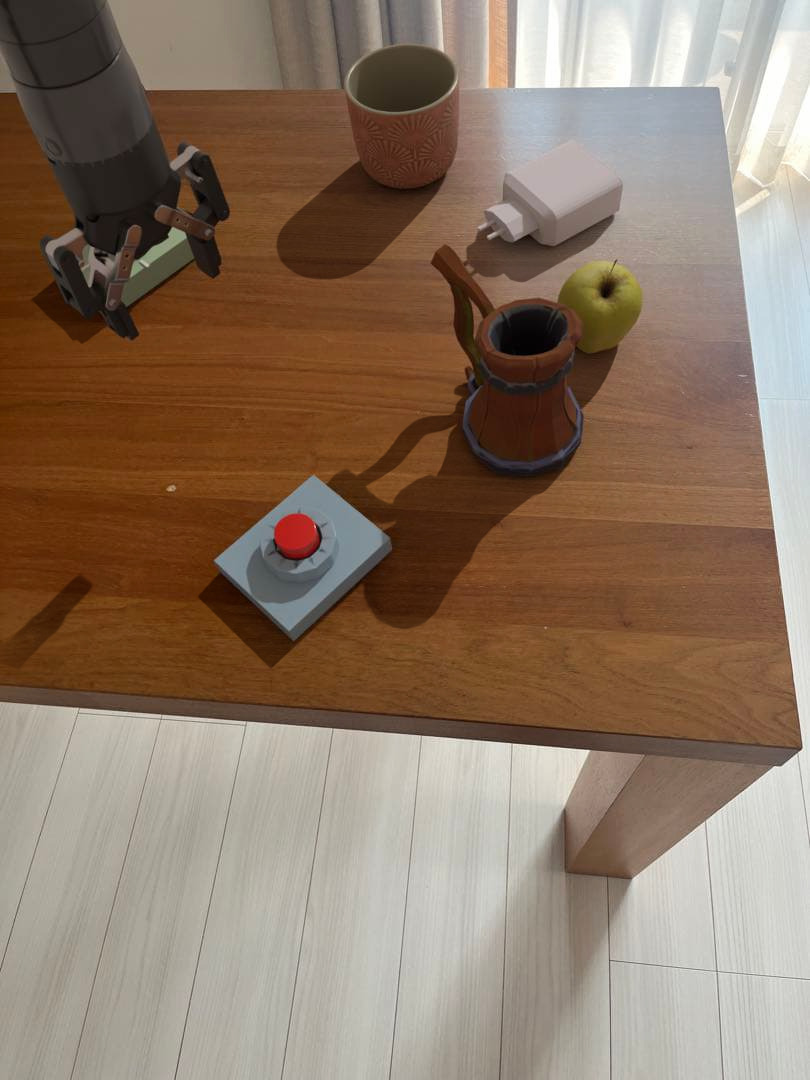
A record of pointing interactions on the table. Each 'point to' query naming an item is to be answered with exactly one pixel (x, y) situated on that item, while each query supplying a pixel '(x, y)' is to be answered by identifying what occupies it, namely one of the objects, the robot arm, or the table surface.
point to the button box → (304, 559)
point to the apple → (602, 303)
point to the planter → (404, 113)
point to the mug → (515, 376)
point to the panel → (150, 265)
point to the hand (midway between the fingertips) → (170, 302)
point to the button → (296, 536)
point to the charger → (555, 196)
